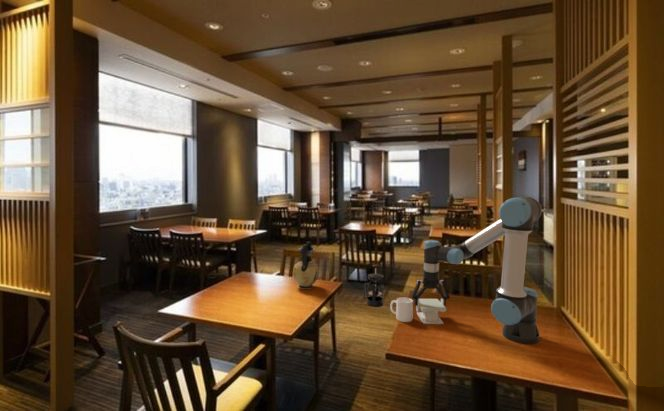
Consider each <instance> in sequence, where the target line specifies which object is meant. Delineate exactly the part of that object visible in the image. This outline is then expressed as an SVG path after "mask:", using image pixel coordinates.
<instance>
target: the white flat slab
mask: <svg viewBox="0 0 664 411" xmlns="http://www.w3.org/2000/svg"><path fill="white" fill-rule="evenodd" d="M419 310H420V311H421V312H422V311H438V312H441V311H444V312H447V307H446V305H445V306H444V305H443V304H442V303H441V300H439V299H438V298H419Z"/></svg>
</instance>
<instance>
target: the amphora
mask: <svg viewBox="0 0 664 411" xmlns="http://www.w3.org/2000/svg"><path fill="white" fill-rule="evenodd" d="M297 250H298V251H299V252H300V254H301V259H300V260H299V261H298V262H297V263H295V265H294V266H293V271H292V273H293V277H294V280H295V282H296V283H297V284H298V289H300V290H311V289H313V288H314V286H313V285H314V284H315V283H316V282H317V279H318V278H319V274H320V268H319V265H318V263H316V262H314V261H313V260H312V255H313V253H314V251H316V248H315V247H313V246H312V242H311V241H310V240H309V241H306V243H304V244H303V245H302V247H299V248H297Z"/></svg>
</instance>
